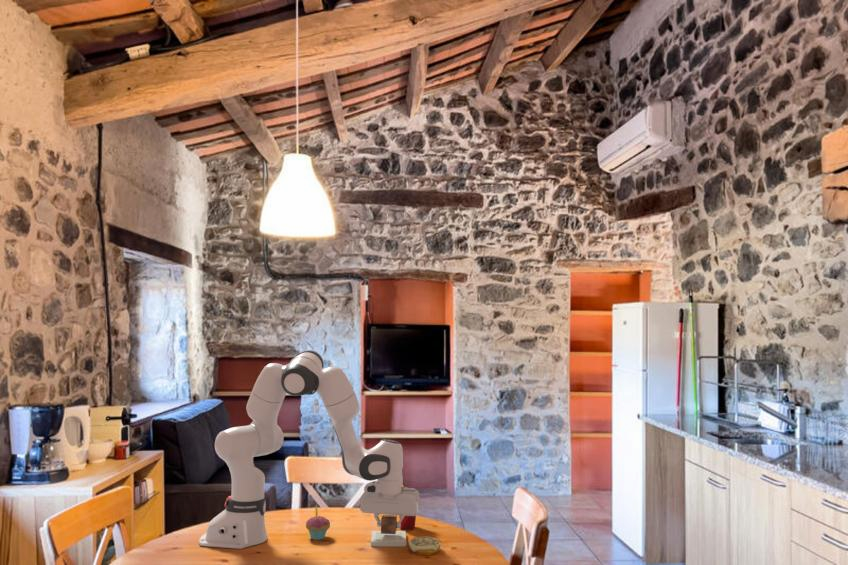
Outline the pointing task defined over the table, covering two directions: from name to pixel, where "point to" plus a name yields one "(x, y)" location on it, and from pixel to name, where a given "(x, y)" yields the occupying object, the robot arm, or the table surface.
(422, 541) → the decorated donut
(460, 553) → the table surface
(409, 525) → the french fries
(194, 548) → the table surface
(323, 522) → the cupcake
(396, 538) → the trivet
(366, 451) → the robot arm
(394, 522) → the walnut cube
